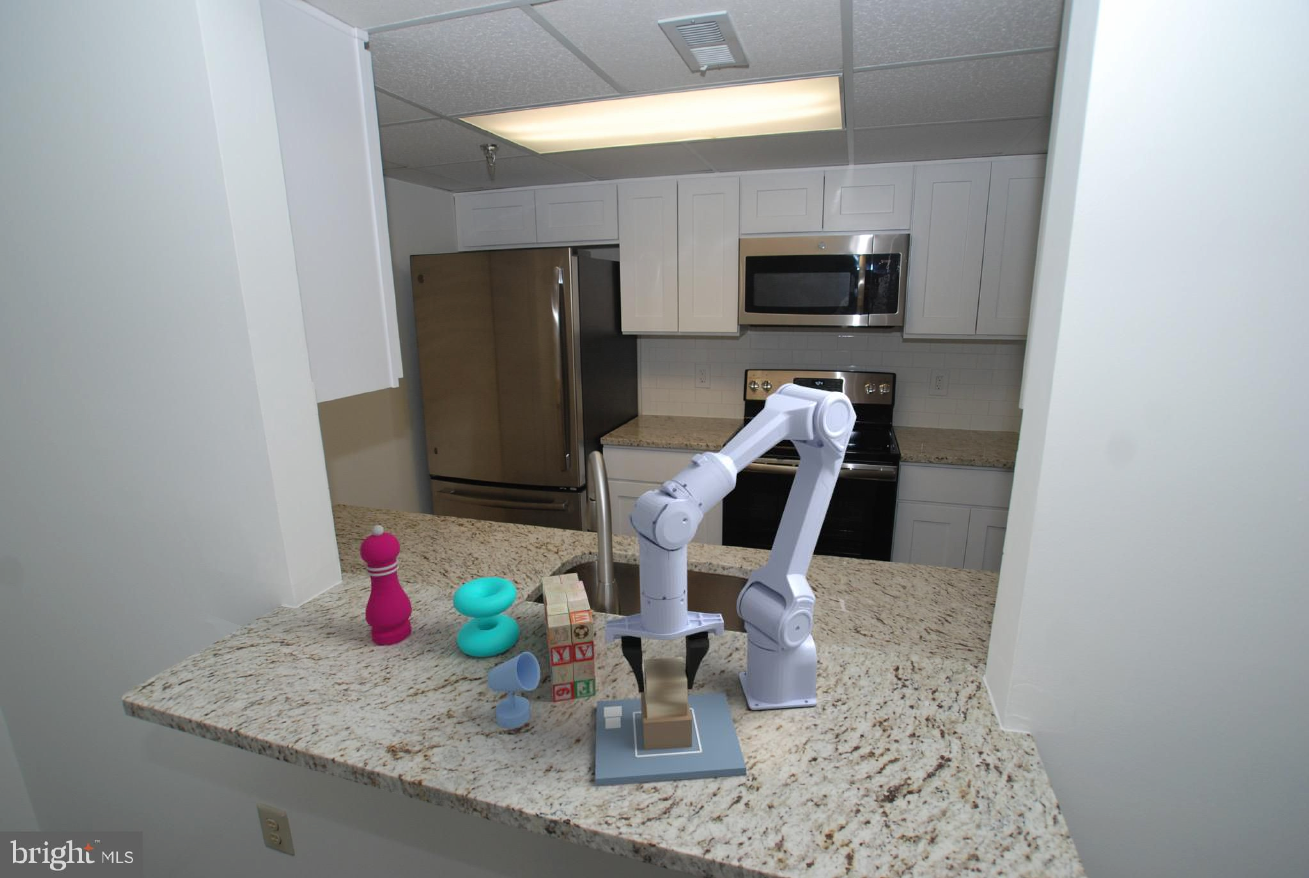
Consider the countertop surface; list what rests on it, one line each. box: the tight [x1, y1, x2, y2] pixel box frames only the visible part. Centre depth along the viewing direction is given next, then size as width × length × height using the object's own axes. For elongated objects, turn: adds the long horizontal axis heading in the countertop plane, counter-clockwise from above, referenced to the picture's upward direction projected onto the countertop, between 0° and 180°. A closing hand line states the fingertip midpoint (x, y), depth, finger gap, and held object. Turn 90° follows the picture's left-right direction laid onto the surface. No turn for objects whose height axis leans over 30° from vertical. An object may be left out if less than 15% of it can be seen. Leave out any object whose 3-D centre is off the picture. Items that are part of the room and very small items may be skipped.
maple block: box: [643, 656, 688, 719], centre depth 79 cm, size 5×5×5 cm
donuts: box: [452, 576, 521, 658], centre depth 102 cm, size 10×10×10 cm
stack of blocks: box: [541, 572, 597, 703], centre depth 97 cm, size 21×6×12 cm, turn 13°
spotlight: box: [487, 651, 541, 729], centre depth 84 cm, size 5×10×7 cm
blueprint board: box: [594, 691, 747, 787], centre depth 80 cm, size 18×14×5 cm
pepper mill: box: [359, 524, 413, 646], centre depth 103 cm, size 7×7×20 cm
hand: (665, 686), depth 79 cm, fingers open, 5 cm apart
